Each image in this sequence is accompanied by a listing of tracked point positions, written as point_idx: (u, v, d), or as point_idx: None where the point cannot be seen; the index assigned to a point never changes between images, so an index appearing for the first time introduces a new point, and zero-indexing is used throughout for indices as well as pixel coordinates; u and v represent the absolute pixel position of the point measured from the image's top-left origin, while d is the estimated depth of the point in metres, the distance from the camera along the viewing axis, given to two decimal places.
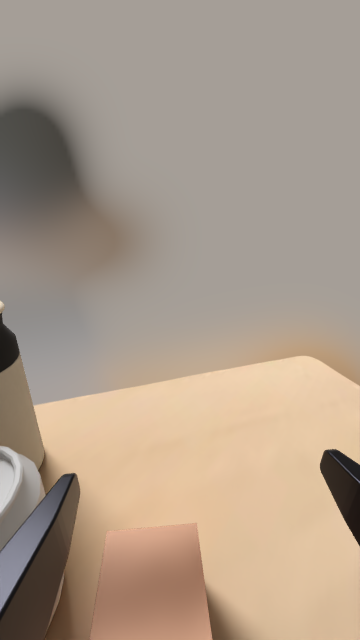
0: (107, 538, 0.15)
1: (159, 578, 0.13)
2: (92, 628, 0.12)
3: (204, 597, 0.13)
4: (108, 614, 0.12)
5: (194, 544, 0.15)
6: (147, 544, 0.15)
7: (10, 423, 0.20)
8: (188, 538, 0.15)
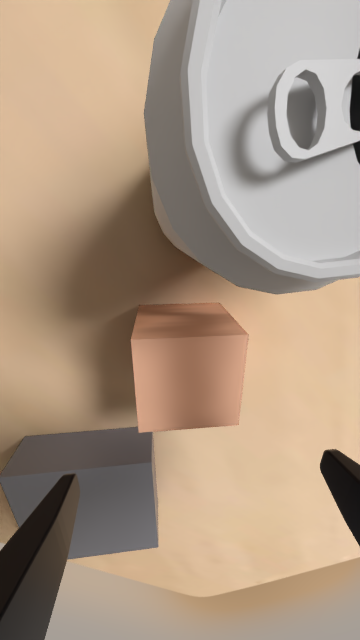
0: (241, 336, 0.12)
1: (199, 392, 0.13)
2: (171, 339, 0.12)
3: (182, 427, 0.14)
4: (179, 351, 0.12)
5: (220, 422, 0.14)
6: (227, 379, 0.13)
7: None
8: (226, 417, 0.14)
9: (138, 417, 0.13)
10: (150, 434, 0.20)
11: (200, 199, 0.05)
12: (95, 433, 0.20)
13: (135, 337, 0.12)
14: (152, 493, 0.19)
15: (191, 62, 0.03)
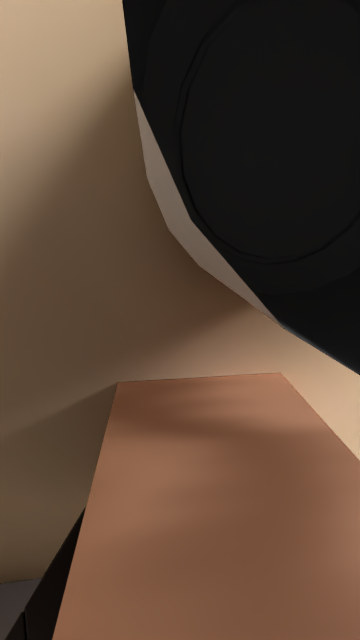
0: None
1: None
2: None
3: None
4: None
5: None
6: None
7: None
8: None
9: None
10: None
11: None
12: None
13: None
14: None
15: None
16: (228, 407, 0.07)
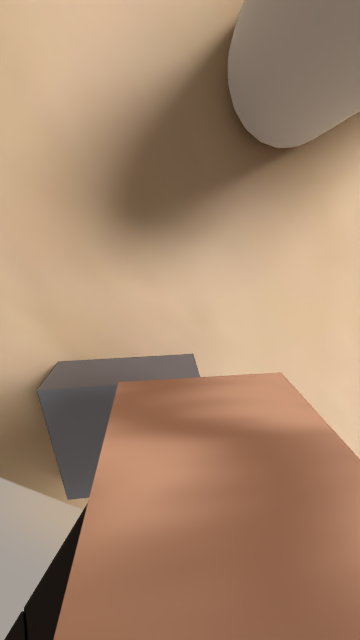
0: None
1: None
2: None
3: None
4: None
5: None
6: None
7: None
8: None
9: None
10: (193, 360, 0.19)
11: None
12: (133, 359, 0.19)
13: None
14: None
15: None
16: (229, 407, 0.07)
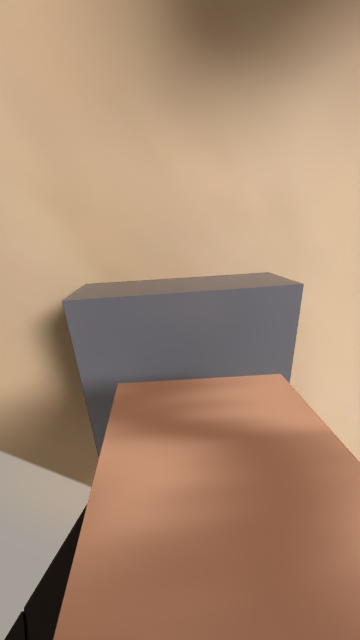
0: None
1: None
2: None
3: None
4: None
5: None
6: None
7: None
8: None
9: None
10: (273, 275, 0.13)
11: None
12: (189, 278, 0.14)
13: None
14: (291, 350, 0.12)
15: None
16: (228, 408, 0.07)
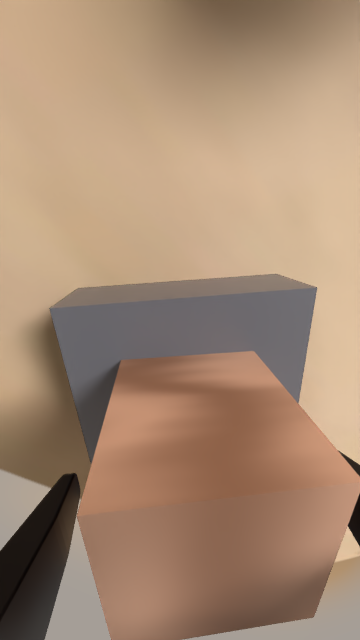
0: (345, 486, 0.05)
1: (240, 583, 0.06)
2: (179, 506, 0.05)
3: (203, 633, 0.07)
4: (199, 524, 0.05)
5: (280, 618, 0.07)
6: (303, 558, 0.06)
7: None
8: (292, 610, 0.07)
9: (111, 632, 0.06)
10: (282, 277, 0.12)
11: None
12: (190, 281, 0.12)
13: (91, 499, 0.05)
14: (303, 359, 0.11)
15: None
16: (207, 374, 0.09)
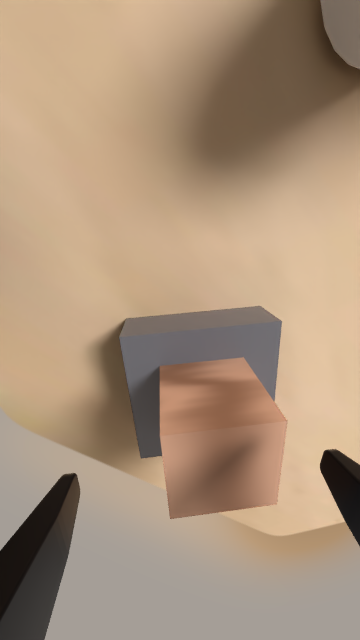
0: (279, 423, 0.11)
1: (234, 477, 0.12)
2: (203, 432, 0.11)
3: (216, 511, 0.13)
4: (212, 442, 0.11)
5: (257, 503, 0.13)
6: (264, 463, 0.12)
7: None
8: (263, 498, 0.13)
9: (169, 505, 0.12)
10: (263, 309, 0.18)
11: None
12: (201, 312, 0.18)
13: (164, 430, 0.11)
14: (276, 365, 0.17)
15: None
16: (214, 373, 0.15)
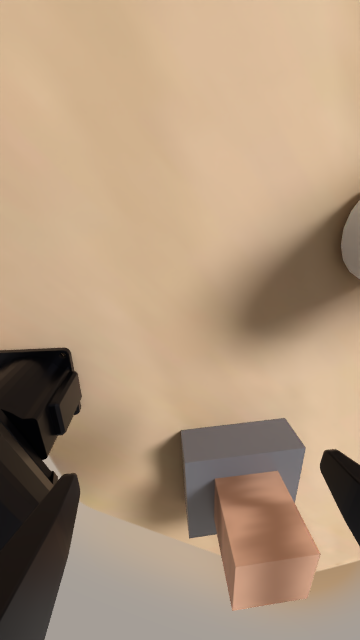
0: (314, 555, 0.16)
1: (280, 585, 0.17)
2: (264, 563, 0.16)
3: (265, 604, 0.18)
4: (269, 567, 0.16)
5: (294, 598, 0.18)
6: (302, 576, 0.17)
7: None
8: (298, 595, 0.18)
9: (233, 603, 0.17)
10: (288, 425, 0.23)
11: None
12: (239, 425, 0.23)
13: (237, 561, 0.16)
14: (299, 475, 0.22)
15: None
16: (259, 492, 0.20)
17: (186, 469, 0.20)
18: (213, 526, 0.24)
